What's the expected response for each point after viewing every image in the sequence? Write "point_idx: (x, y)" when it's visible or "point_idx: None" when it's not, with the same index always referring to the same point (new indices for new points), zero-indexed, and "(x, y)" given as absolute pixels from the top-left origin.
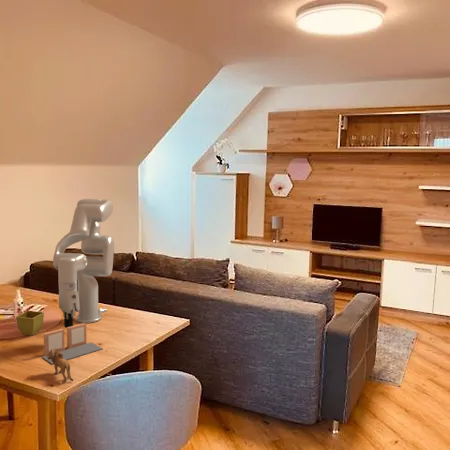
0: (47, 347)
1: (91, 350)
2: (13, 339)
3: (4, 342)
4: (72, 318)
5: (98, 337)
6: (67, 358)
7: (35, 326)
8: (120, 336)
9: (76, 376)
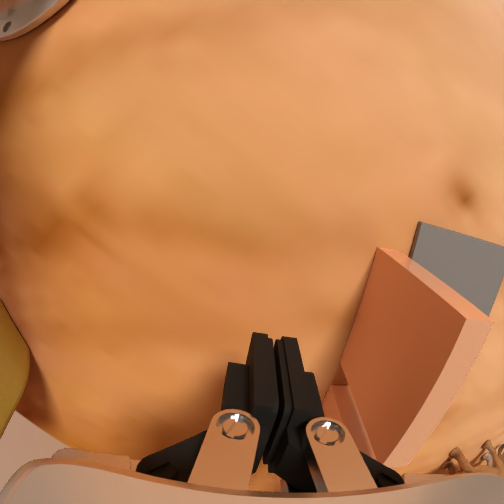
0: None
1: (482, 305)
2: (38, 409)
3: (54, 437)
4: (307, 404)
5: (379, 107)
6: None
7: (10, 375)
8: (462, 33)
9: (501, 429)
